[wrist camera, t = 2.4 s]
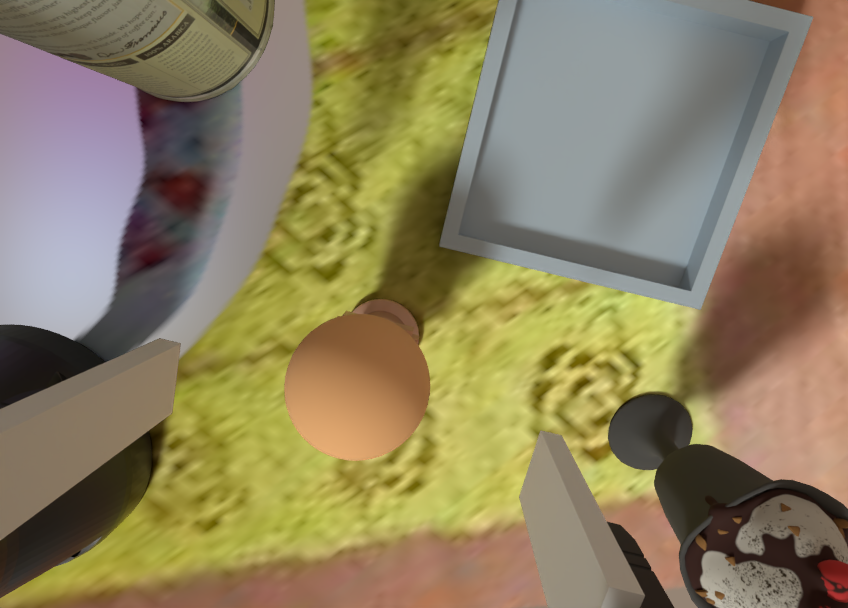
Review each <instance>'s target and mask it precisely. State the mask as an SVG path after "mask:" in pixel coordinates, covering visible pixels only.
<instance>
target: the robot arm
mask: <svg viewBox="0 0 848 608" xmlns="http://www.w3.org/2000/svg"><path fill="white" fill-rule="evenodd" d="M180 345H181V344H180V343H177V342H173V341H169V340H165V339H161V338H159V339H157V340H155V341H152V342H150V343H148V344H146V345H143V346H141V347H139V348H137V349H134V350H132V351H130V352H128V353H125V354H123V355H121V356H119V357H116V358H114V359H112V360H110V361H107V362H104V361H103V360H102V359H101V358H100V357H98V356H97V355H96V354H94V353H93V352H92V351H90V350H89V349H87V348H86V347H84V346H82V345H81V344H79V343H77V342H75V341H73V340H71V339H69V338H67V337H65V336H62V335H60V334H57V333H54V332H51V331H48V330H44V329H41V328H37V327H32V326H24V325H0V598H1V597H3V596H5V595H6V594H8V593H10V592H12V591H13V590H15V589H17V588H18V587H20V586H22V585H23V584H25V583H27V582H29V581H31V580H32V579H34V578H36V577H38V576H39V575H41V574H43V573H44V572H46V571H48V570H49V569H51V568H53V567H55V566H58V565H61V564H64V563H67V562H69V561H71V560H73V559H75V558H77V557H79V556H81V555H83V554H84V553H86V552H88V551H89V550H91V549H92V548H94V547H95V546H96V545H98V544H99V543H100V542H101V541H103V540H104V539H105V538H106V537H107V536H108V535H109V534H110V533H111V532H112V531H113V530H114V529H115V528H116V527H117V526H118V525H119V524H120V523H121V522H122V521H123V520H124V519H125V518H126V517H127V516H128V515H129V514H130V513H131V512H132V511H133V510H134V509H135V507H136V506H137V505H138V503H139V502H140V500H141V498H142V496H143V494H144V492H145V490H146V487H147V484H148V481H149V477H150V473H151V466H152V447H151V439H150V434H149V430H150V429H152V428H153V427H154V426H156V425H157V424H158V423H160V422H161V421H162V420H164V419H165V418H166V417H168V416H169V415H170V414H172V410H173V402H174V394H175V386H176V378H177V370H178V361H179V353H180ZM519 498H520V502H521V506H522V510H523V514H524V518H525V521H526V525H527V529H528V533H529V537H530V541H531V544H532V548H533V552H534V556H535V560H536V564H537V567H538V571H539V575H540V579H541V583H542V587H543V591H544V594H545V598H546V602H547V606H548V608H674V606H673V605H672V603H671V601H670V599H669V598H668V596H667V594H666V593H665V591H664V589H663V587H662V586H661V584H660V582H659V580H658V579H657V577H656V575H655V574H654V572H653V571H651V567H650V565H649V563H648V561H647V560H646V558H644V555H643V553H642V551H641V549H640V548H639V546H638V544H637V542H636V541H635V539H634V538H633V537H632V536H631V535H630V534H629V533H628V532H627V531H626V530H625V529H624V528H623V527H622V526H621V525H618V524H614V523H610V522H606V520H605V518H604V516H603V514H602V512H601V510H600V508H599V506H598V504H597V502H596V501H595V499H594V497H593V495H592V493H591V491H590V489H589V487H588V485H587V483H586V481H585V479H584V478H583V476H582V474H581V472H580V470H579V468H578V466H577V464H576V462H575V460H574V458H573V456H572V455H571V453H570V451H569V449H568V447H567V445H566V443H565V441H564V439H563V437H562V435H558V434H553V433H549V432H545V431H540V434H539V437H538V440H537V443H536V446H535V449H534V452H533V456H532V459H531V462H530V465H529V468H528V471H527V474H526V477H525V480H524V483H523V486H522V490H521V493H520V496H519Z"/></svg>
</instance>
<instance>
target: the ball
mask: <svg viewBox="0 0 848 608" xmlns="http://www.w3.org/2000/svg"><path fill="white" fill-rule="evenodd" d="M429 395H430V377H429V370H428V366H427V362H426V360H425V357H424V355H423V353H422V351H421V349H420V348H419V346H418V344H417V343H416V342H415V340H414V339H413V338H412V337H411V336H410V335H409V334H408V333H407V332H406V331H405V330H404V329H402V328H401V327H400V326H398V325H397V324H395V323H393V322H391V321H389V320H387V319H385V318H382V317H378V316H374V315H369V314H351V315H345V316H340V317H337V318H334V319H331V320H329V321H327V322H325V323H323V324H321V325H320V326H318V327H317V328H316V329H314V330H313V331H311V332H310V333H309V334H308V335H307V336H306V337H305V338H304V339H303V341H302V342H301V343H300V344H299V346H298V347H297V349H296V350H295V352H294V354H293V355H292V358H291V360H290V363H289V365H288V368H287V372H286V376H285V401H286V406H287V410H288V413H289V416H290V418H291V420H292V422H293V424H294V426H295V428H296V429H297V431H298V432H299V433H300V435H301V436H302V437H303V438H304V439H305V440H306V441H307V442H308V443H309V444H310V445H312V446H313V447H315V448H316V449H318V450H319V451H321V452H323V453H325V454H327V455H329V456H332V457H336V458H339V459H344V460H355V461H357V460H367V459H372V458H376V457H379V456H382V455H384V454H386V453H388V452H390V451H392V450H394V449H395V448H397V447H399V446H400V445H401V444H402V443H403V442H405V441H406V440H407V439H408V438H409V437H410V436H411V435H412V433H413V432H414V431H415V430H416V428H417V427H418V425H419V424H420V422H421V420H422V418H423V416H424V414H425V411H426V408H427V405H428V400H429Z"/></svg>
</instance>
